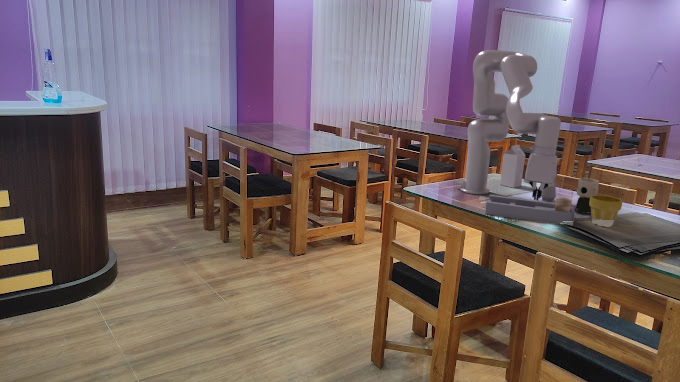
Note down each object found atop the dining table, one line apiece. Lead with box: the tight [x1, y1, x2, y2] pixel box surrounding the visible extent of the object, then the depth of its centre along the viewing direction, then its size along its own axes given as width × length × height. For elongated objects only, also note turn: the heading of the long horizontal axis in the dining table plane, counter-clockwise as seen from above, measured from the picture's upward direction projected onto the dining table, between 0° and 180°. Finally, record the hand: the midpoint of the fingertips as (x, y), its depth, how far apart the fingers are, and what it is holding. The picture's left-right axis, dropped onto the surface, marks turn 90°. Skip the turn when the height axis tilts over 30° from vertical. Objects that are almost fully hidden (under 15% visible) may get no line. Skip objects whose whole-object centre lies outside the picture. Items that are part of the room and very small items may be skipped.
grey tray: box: [484, 194, 575, 225], centre depth 188 cm, size 30×13×4 cm, turn 69°
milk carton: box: [499, 144, 526, 189], centre depth 234 cm, size 7×7×19 cm
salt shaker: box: [541, 170, 558, 203], centre depth 210 cm, size 6×6×13 cm
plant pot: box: [589, 194, 623, 220], centre depth 180 cm, size 10×10×10 cm
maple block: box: [554, 196, 572, 212], centre depth 183 cm, size 5×5×5 cm
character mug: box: [574, 177, 600, 214], centre depth 194 cm, size 11×7×13 cm, turn 12°
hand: (536, 199), depth 187 cm, fingers closed
